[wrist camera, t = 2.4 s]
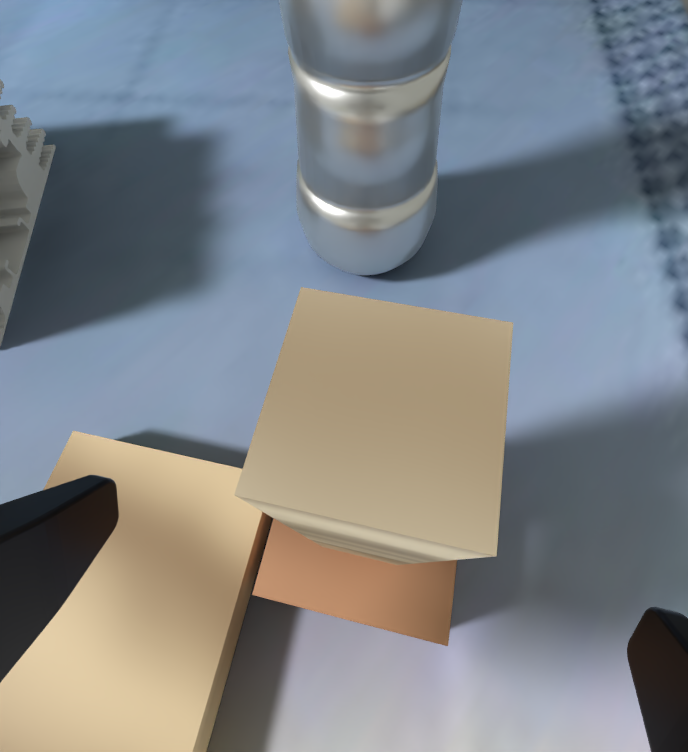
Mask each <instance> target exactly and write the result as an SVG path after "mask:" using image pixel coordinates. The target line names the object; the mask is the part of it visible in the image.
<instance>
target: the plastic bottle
mask: <svg viewBox="0 0 688 752" xmlns="http://www.w3.org/2000/svg"><path fill="white" fill-rule="evenodd" d="M279 5H280V10H281V16H282V21H283V27H284V32H285V37H286V40H287V43H288V45H289V50H288V54H289V60H290V65H291V71H292V76H293V82H294V93H295V110H296V126H297V143H298V163H297V175H296V198H297V213H298V217H299V220H300V223H301V225H302V228H303V230H304V233H305V235H306V238H307V240H308V242H309V244H310V246H311V248H312V249H313V250H314V251H315V252H316V254H317V255H318V256H319V257H320V258H322V259H323V260H324V261H326V262H327V263H328V264H330V265H332V266H334V267H336V268H338V269H340V270H342V271H344V272H348V273H351V274H357V275H376V274H380V273H385V272H387V271H389V270H392V269H394V268H396V267H398V266H400V265H402V264H403V263H405V262H406V261H408V260H409V259H411V258H412V257H413V256H414V255H415V254H416V253H417V252H418V250H419V249H420V247H421V246H422V244H423V243H424V240H425V238H426V236H427V234H428V231H429V229H430V227H431V225H432V222H433V219H434V217H435V214H436V203H437V186H438V170H437V160H436V155H437V145H438V135H439V125H440V115H441V105H442V95H443V85H444V81H445V76H446V72H447V67H448V63H449V59H450V54H451V43H452V40H453V38H454V36H455V32H456V27H457V23H458V18H459V14H460V9H461V5H462V0H279Z"/></svg>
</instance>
